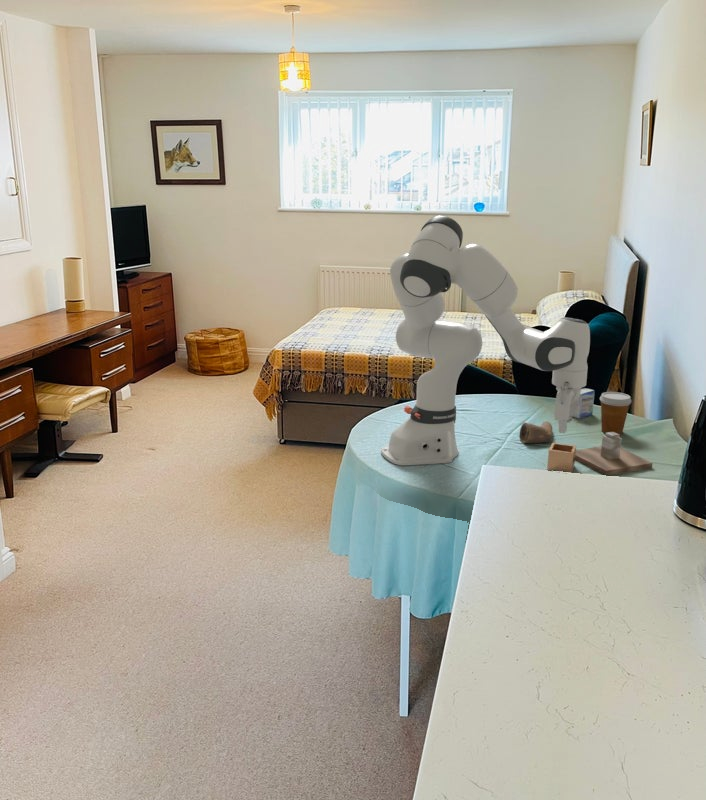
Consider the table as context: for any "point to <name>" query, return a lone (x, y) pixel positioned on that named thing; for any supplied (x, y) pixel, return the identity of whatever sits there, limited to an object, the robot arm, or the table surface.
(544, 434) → the pipe
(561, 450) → the tan hollow cube
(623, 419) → the disposable coffee cup
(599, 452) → the wavy brown square sheet
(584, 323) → the robot arm
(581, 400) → the medicine box
